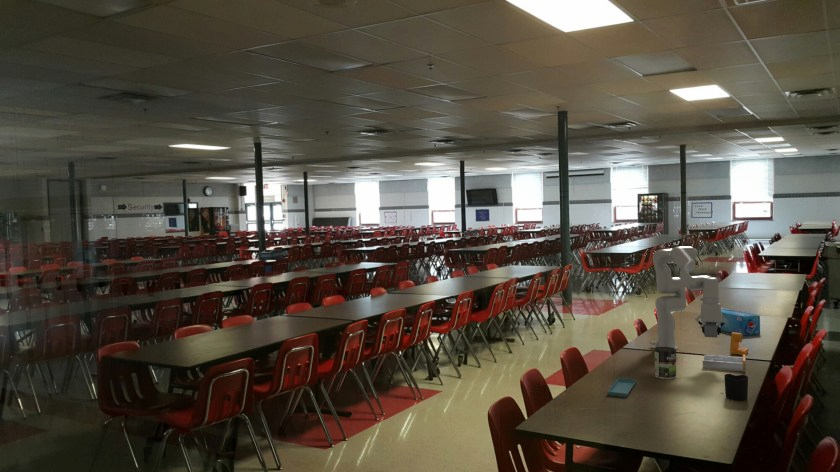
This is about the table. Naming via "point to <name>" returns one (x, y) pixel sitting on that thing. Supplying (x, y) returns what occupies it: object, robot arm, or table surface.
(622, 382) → the shallow long dish
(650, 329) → the table surface
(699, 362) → the table surface
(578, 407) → the table surface
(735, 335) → the bracket
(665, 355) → the coffee can
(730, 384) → the pen holder
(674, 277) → the robot arm
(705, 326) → the lock block
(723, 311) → the soda box
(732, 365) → the coupler channel
